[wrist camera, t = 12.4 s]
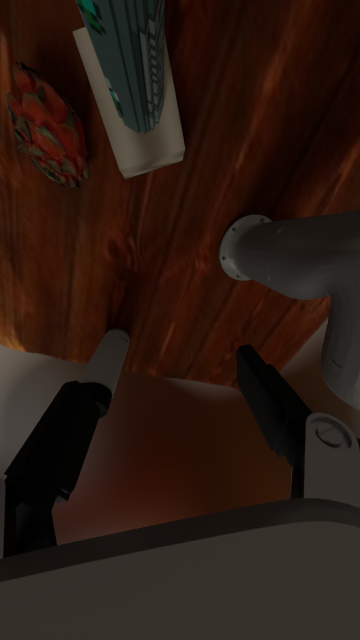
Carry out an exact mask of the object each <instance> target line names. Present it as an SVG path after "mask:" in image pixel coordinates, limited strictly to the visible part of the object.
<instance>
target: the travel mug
mask: <svg viewBox="0 0 360 640" xmlns="http://www.w3.org/2000/svg"><path fill="white" fill-rule="evenodd" d="M129 343H130V337H129V335H128V333H127V332H125V331H124V330H122V329H117V328H115V329H111V330H109V331H107V333H106V334H105V336H104V338H103V339H102V341H101V343H100V344H99V346H98V348H97V350H96V351H95V353H94V355H93V357H92V358H91V360H90V362H89V363H88V365H87V367H86V369H85V370H84V372H83V374H82V376H81V377H80V379H79V381H78V382H80V383H82V385H83V386H84V387H85V389H86V390H87V392H88V393H89V394H90V396H91V397H92V399H93V400H94V402H95V403H96V404H97V406H98V407H99V409H100V417H99V418H102V417H104V416H105V415H106V414H107V412H108V409H109V406H110V402H111V400H112V398H113V394H114V391H115V388H116V385H117V381H118V378H119V375H120V372H121V368H122V365H123V362H124V359H125V355H126V352H127V349H128V346H129Z"/></svg>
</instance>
